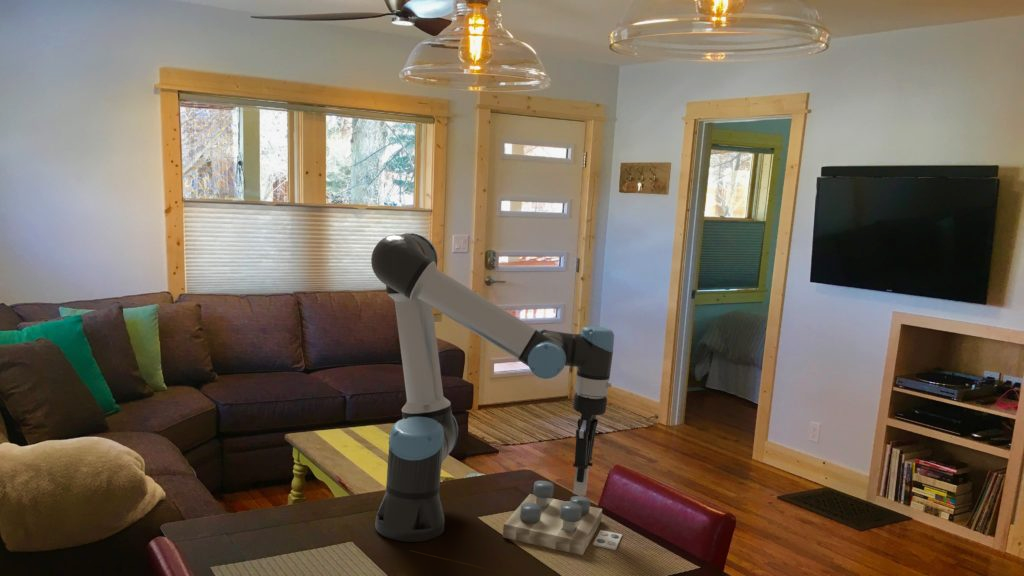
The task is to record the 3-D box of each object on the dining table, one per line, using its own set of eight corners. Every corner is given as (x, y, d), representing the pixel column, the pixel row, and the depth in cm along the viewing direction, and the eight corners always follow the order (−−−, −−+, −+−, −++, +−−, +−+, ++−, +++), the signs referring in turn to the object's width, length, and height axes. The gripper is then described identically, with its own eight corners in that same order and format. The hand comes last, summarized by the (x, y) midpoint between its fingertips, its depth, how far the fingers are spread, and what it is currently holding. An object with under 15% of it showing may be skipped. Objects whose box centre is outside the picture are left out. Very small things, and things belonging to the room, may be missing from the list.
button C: (555, 533, 163) (558, 508, 163) (561, 525, 168) (563, 501, 167) (576, 537, 162) (579, 512, 161) (581, 529, 166) (583, 505, 166)
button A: (515, 533, 166) (518, 508, 166) (522, 525, 171) (524, 501, 170) (535, 537, 165) (538, 512, 164) (541, 529, 169) (543, 505, 169)
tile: (593, 545, 164) (593, 542, 164) (600, 531, 172) (600, 529, 172) (615, 550, 163) (615, 547, 163) (621, 536, 170) (622, 533, 170)
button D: (566, 525, 173) (568, 501, 172) (570, 517, 177) (573, 494, 177) (585, 529, 172) (588, 505, 171) (589, 521, 176) (592, 498, 175)
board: (502, 537, 164) (503, 524, 164) (528, 505, 183) (529, 493, 183) (582, 555, 159) (584, 541, 159) (601, 521, 178) (602, 508, 178)
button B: (529, 508, 175) (531, 485, 175) (535, 502, 180) (537, 479, 179) (548, 512, 174) (550, 489, 174) (553, 506, 178) (555, 483, 178)
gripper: (601, 403, 164) (589, 506, 167) (612, 391, 176) (600, 488, 179) (568, 397, 166) (556, 499, 169) (581, 386, 179) (570, 481, 181)
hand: (579, 493), depth 174 cm, fingers closed
